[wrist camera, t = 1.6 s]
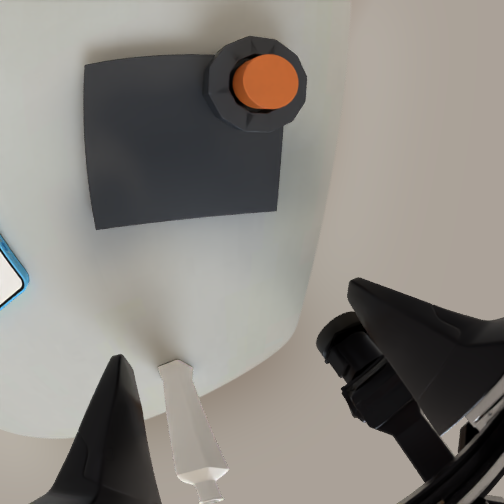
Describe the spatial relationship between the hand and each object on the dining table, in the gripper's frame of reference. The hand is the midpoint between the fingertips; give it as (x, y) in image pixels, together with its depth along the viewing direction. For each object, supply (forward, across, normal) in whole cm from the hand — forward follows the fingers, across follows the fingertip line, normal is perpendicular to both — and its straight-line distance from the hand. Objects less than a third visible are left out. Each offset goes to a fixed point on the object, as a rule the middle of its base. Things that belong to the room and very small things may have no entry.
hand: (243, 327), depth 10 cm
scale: (+12, 0, -5) cm, 13 cm away
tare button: (+9, -5, -8) cm, 13 cm away
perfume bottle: (+12, +6, +17) cm, 22 cm away
